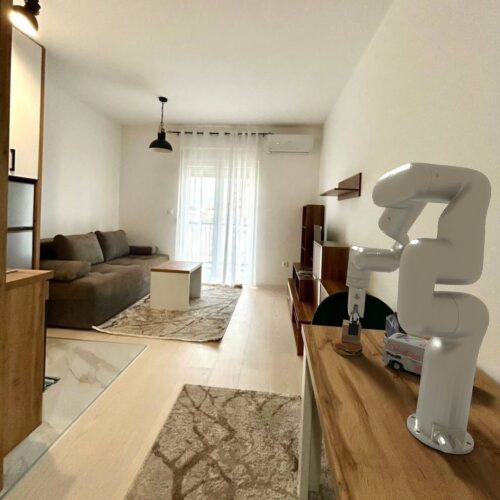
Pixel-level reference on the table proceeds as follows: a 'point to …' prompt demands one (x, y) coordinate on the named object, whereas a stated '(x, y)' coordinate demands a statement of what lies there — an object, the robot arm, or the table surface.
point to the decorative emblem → (392, 326)
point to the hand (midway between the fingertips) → (352, 330)
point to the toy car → (405, 352)
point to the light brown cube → (350, 338)
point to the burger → (347, 348)
